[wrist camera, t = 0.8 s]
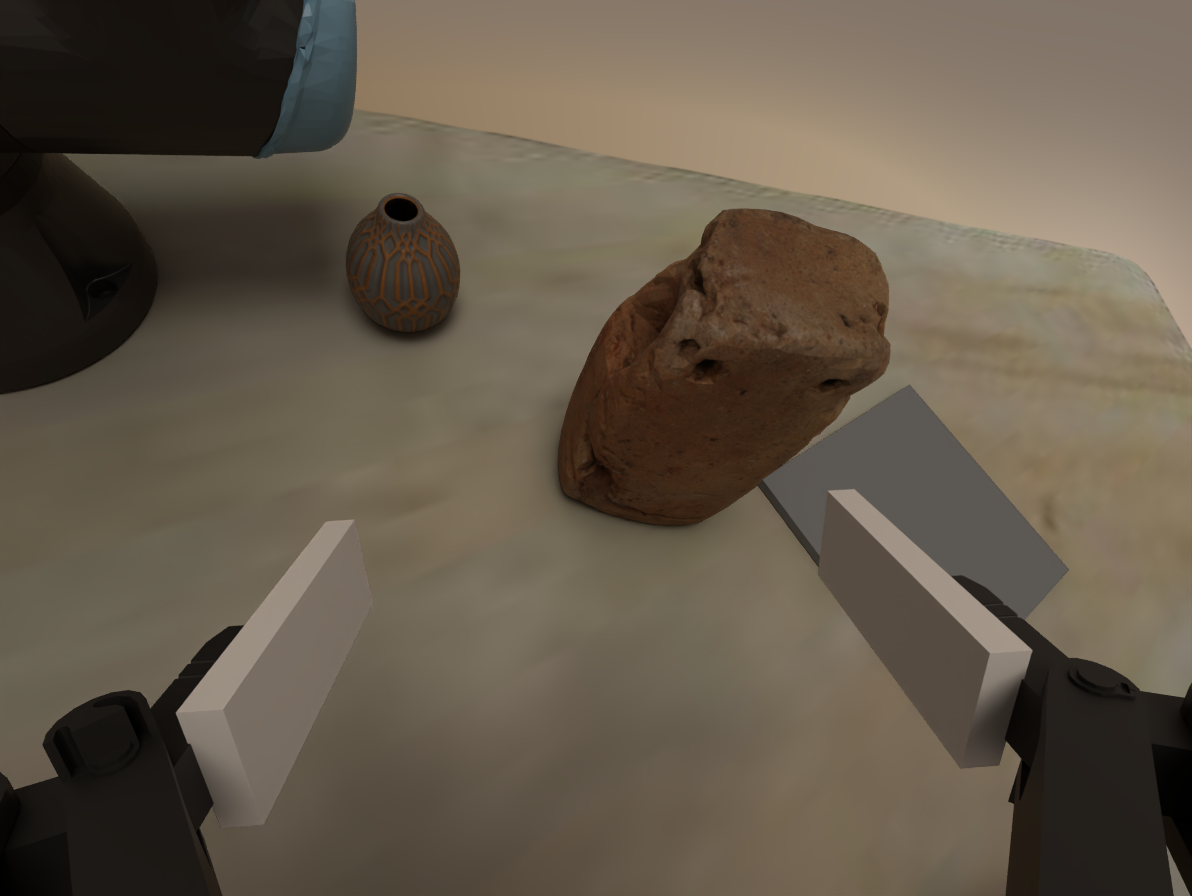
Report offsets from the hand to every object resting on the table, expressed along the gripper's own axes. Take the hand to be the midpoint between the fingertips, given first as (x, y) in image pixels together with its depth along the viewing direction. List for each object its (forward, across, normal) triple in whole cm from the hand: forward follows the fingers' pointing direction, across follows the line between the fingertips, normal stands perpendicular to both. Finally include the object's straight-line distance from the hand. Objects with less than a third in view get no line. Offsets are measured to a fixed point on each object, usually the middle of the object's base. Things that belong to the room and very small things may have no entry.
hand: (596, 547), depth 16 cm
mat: (+22, +24, -14) cm, 36 cm away
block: (+22, +3, -8) cm, 23 cm away
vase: (+28, -12, +3) cm, 30 cm away
